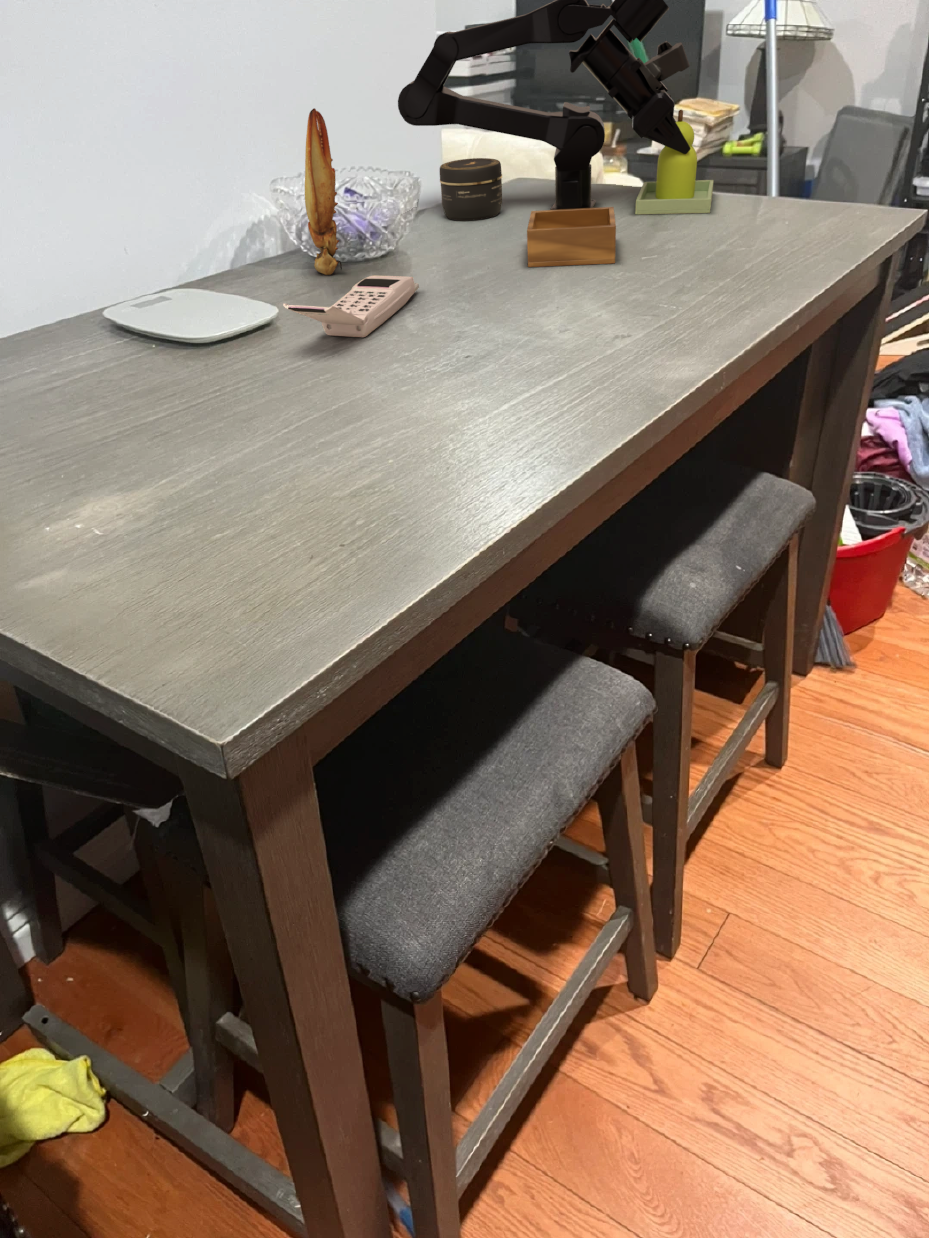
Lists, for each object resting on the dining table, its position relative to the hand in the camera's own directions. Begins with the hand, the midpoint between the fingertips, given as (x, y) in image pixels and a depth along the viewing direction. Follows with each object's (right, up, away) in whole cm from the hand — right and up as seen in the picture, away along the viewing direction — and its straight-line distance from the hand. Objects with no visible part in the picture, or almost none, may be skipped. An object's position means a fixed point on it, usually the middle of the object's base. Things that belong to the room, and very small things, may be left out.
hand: (686, 149), depth 140 cm
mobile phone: (-46, -38, -34) cm, 69 cm away
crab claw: (-53, -26, -16) cm, 61 cm away
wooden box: (-20, -23, -16) cm, 34 cm away
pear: (-1, -5, +4) cm, 7 cm away
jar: (-33, -7, +9) cm, 35 cm away
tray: (-1, -6, +5) cm, 8 cm away
